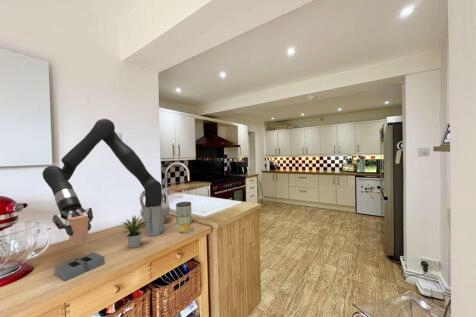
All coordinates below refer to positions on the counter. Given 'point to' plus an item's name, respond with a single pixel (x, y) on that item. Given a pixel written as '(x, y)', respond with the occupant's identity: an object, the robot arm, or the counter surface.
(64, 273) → the grey socket block
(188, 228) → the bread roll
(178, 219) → the coffee can
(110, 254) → the counter surface
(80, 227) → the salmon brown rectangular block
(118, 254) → the counter surface
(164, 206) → the ceramic pitcher
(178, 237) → the counter surface
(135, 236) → the house plant
